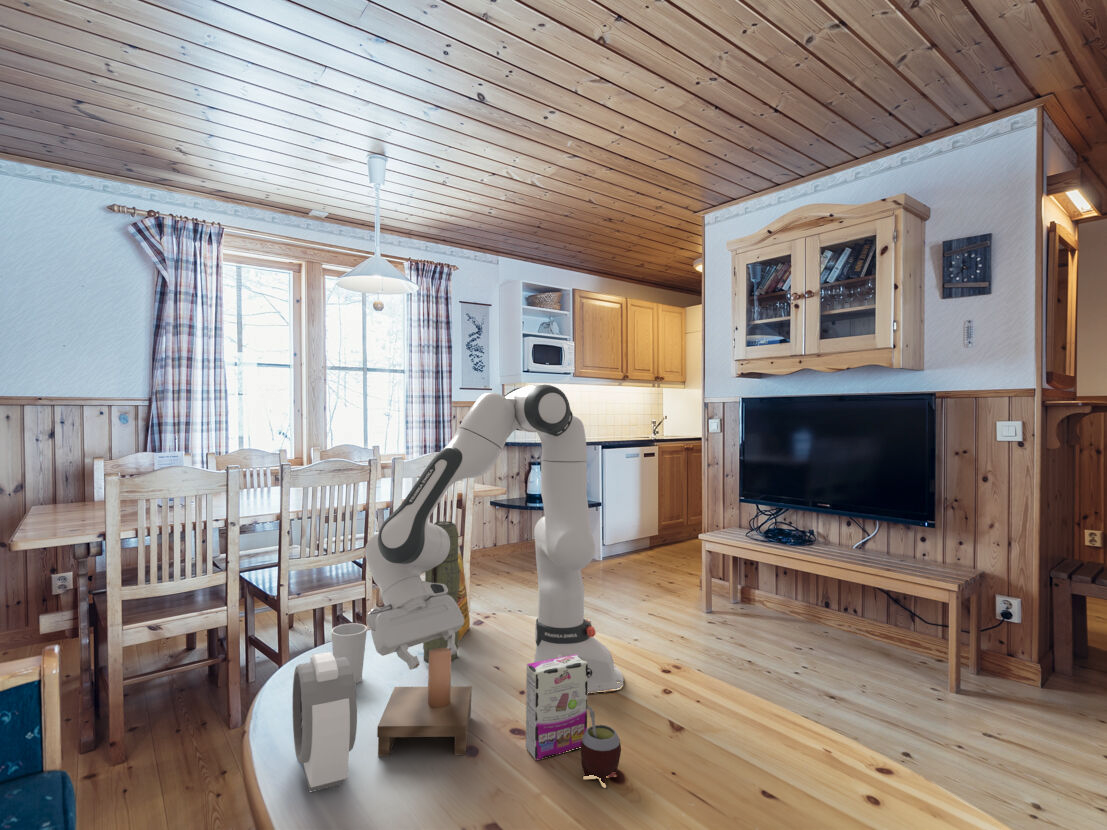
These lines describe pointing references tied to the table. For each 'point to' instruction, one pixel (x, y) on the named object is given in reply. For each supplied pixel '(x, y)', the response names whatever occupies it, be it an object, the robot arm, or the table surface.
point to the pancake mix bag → (462, 598)
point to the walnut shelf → (425, 717)
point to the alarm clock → (324, 718)
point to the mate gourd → (599, 750)
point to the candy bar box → (556, 705)
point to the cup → (350, 646)
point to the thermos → (448, 576)
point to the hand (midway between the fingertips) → (434, 660)
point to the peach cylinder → (439, 677)
